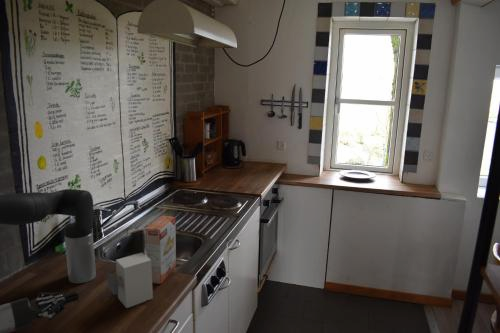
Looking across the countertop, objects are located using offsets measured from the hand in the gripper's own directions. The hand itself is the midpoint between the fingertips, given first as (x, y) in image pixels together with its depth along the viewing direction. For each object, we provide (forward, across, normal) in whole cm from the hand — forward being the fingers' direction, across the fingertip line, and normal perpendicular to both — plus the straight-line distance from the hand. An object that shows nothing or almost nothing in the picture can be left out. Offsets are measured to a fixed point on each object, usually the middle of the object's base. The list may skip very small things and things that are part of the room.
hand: (77, 295), depth 114 cm
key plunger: (+14, 0, +2) cm, 14 cm away
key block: (+18, 0, +8) cm, 20 cm away
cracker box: (+32, +9, +8) cm, 35 cm away
